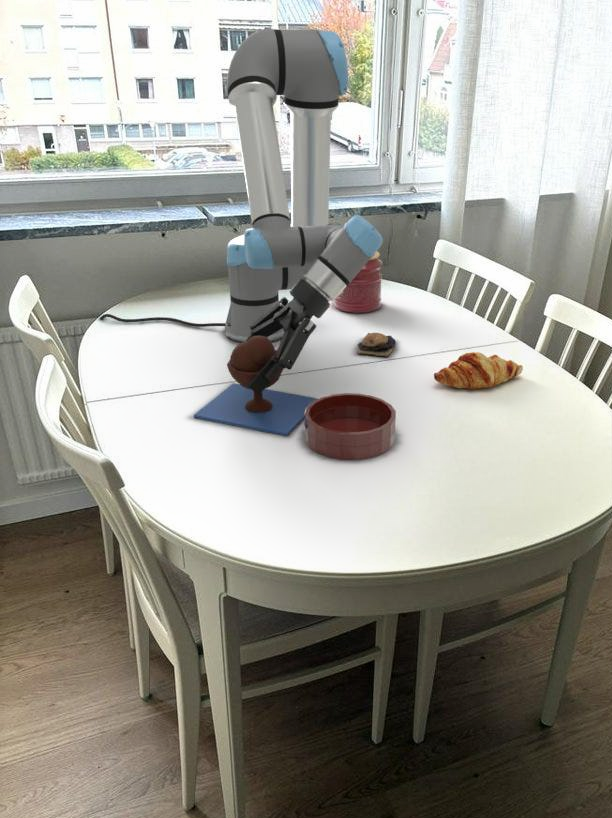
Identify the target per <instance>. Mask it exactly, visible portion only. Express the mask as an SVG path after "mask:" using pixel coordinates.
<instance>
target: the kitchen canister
mask: <svg viewBox="0 0 612 818" xmlns="http://www.w3.org/2000/svg"><path fill="white" fill-rule="evenodd" d="M380 256H381V253H380V252H379V251H378V250H377V251H376V253H375V255H374V256H373V257H371V259H370V260H369V261H368V262H367V263H366V264H365V266H364V267H363V268H362V269H361V270H360V271H359V273H358V274H357V275H356V276H355V277H354V278H353V280H352V281H351V282H350V283H349V284H348V285H347V286H346V287H345V289H344V290H343V293H342V294H340V295H339V296H338V297H337V298H336V299H335V300H334V301H333V302H334V307H335V308H336V309H338V310H340V311H342V312H346V313H353V314H359V313H360V314H363V313H371V312H374V311H377V310H378V309H380V307H381V304H382V279H383V274H382V273H381V268H382V266H383V261H382V260H380V259H379V257H380Z"/></svg>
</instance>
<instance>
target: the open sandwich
mask: <svg viewBox="0 0 612 818" xmlns="http://www.w3.org/2000/svg"><path fill="white" fill-rule="evenodd" d="M396 341H397V340H396V339H395V338H394V337H393V336H392V335H386V334H384V333H381V332H368V333H366V335H365V336H364V337H363V339H362V341H361V342H358V344H357V348H358V349H357V354H360V355H373V356H379V357H380V356H381V357H389V356H390V354H391V353H392V352H394V349H395V345H396V344H397V343H396Z"/></svg>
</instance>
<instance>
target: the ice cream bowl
mask: <svg viewBox="0 0 612 818" xmlns="http://www.w3.org/2000/svg"><path fill="white" fill-rule="evenodd" d="M277 350H278V349H275V345H274V344H273V341H270V340H269V339H268V338H267V337H264V336H253V337H251V338H250V339H249V340H248V341H245V342H239V343H238V344H236V346H235V347H234V348H233V350H232V351H231V354H230V357H229V361H228V362H227V364H226V367H227V370H228V372H229V375H230V376H231V377H232V379H233V380H235V381H236V382H237V384H240V385H242V386H243V387H245V388H247V389H251V388H250V387H249V386H248V385H249V383H250V382H251V381H252V380H253V379H254V377H255V376H256V375H257V374H258V373H259V372H260V370H261V369H262V368H263V367H264V366H265V364H266V363H267V362H268V361H269V360H270V359H271V357H273V356H275V355H276V352H277ZM280 358H281V357H280ZM283 371H284V369H283V368H282V369H281V370H280V371H279V372H278V374H277V375H276V376H275V377H274V378H273V379H272V381H271V382H270V383H269V384H268V385H267V387H266V388H265V389H269V388H270V387H272V386H274V385H275V384H276V383H277V382H278V381H279V380H280V378H281V376H282V374H283ZM251 390H253V389H251ZM253 392H254V399H252V400H250V401H248V402H247V403H246V405H245V409H246V410H247V411H249V412H253V413H263V412H267V411H269V410H271V409H272V406H273V405H272V403H271V402H270V401H269V400H267V399H264V398H263V394H262V392H261V394H258V393H257V392H255V391H254V390H253Z"/></svg>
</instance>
